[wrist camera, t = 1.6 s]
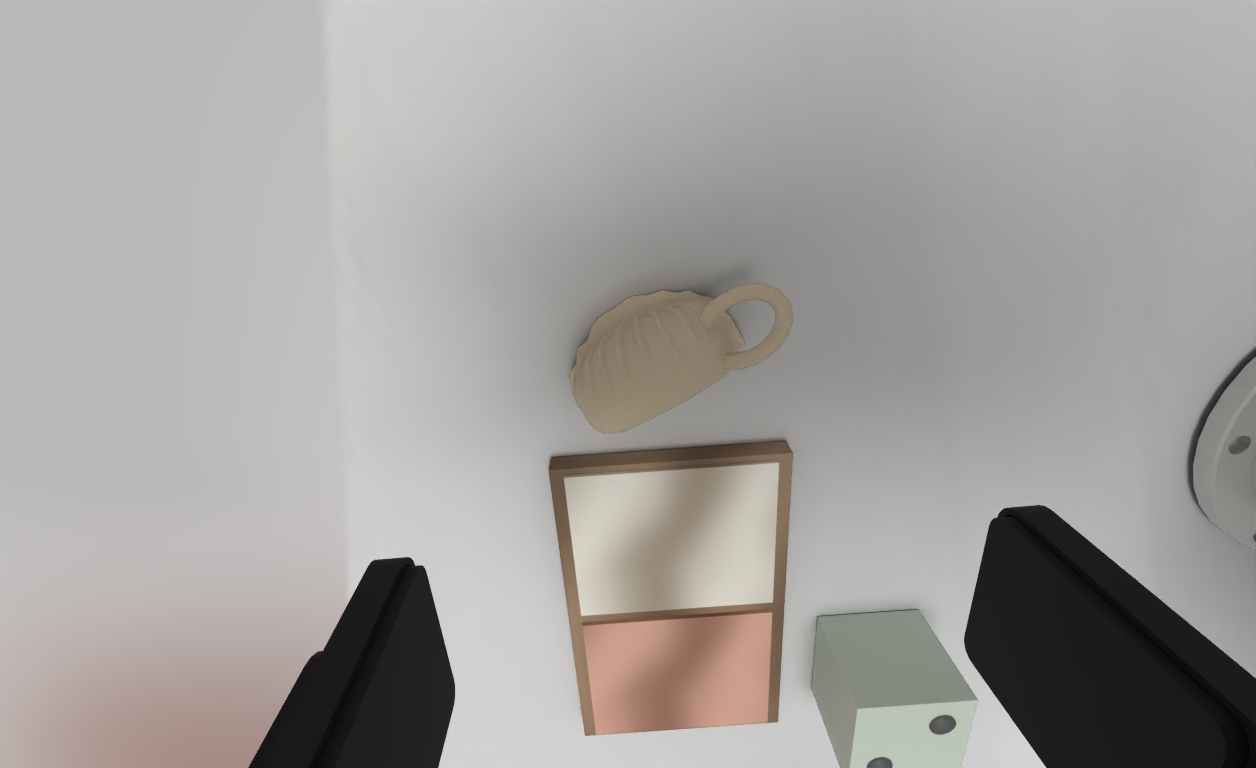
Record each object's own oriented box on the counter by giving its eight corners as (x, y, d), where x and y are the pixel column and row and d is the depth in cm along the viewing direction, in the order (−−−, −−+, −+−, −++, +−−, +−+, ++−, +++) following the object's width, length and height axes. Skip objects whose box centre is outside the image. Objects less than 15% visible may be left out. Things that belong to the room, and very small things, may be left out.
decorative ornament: (544, 344, 23) (525, 401, 18) (738, 239, 21) (776, 269, 16) (596, 424, 24) (592, 498, 19) (780, 331, 23) (827, 384, 18)
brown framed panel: (785, 440, 25) (794, 455, 23) (772, 704, 31) (778, 725, 30) (550, 457, 25) (548, 472, 23) (585, 717, 31) (585, 739, 30)
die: (918, 609, 28) (979, 701, 24) (906, 682, 30) (959, 780, 26) (817, 616, 28) (858, 710, 24) (811, 688, 30) (847, 788, 26)
